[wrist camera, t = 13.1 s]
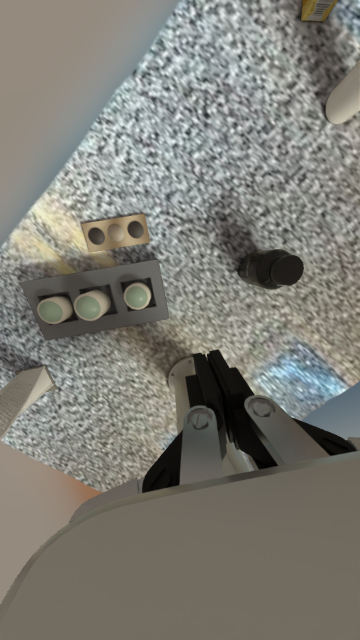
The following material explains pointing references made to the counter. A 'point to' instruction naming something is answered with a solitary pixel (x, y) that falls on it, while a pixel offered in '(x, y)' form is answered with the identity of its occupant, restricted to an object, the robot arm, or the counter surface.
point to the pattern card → (116, 233)
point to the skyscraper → (23, 394)
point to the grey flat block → (108, 282)
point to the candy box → (316, 9)
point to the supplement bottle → (271, 268)
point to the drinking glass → (345, 97)
